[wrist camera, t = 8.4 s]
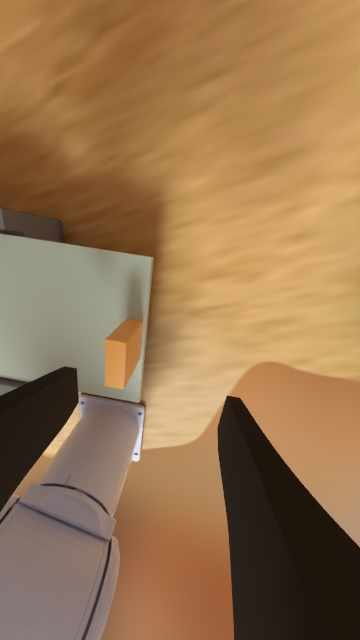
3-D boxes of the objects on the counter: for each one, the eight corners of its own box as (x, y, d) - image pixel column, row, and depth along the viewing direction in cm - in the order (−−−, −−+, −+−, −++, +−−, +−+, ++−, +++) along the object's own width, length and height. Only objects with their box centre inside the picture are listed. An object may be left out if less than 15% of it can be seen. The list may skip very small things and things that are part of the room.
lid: (140, 397, 17) (124, 441, 13) (-40, 364, 18) (-106, 396, 14) (153, 257, 13) (134, 260, 9) (-85, 219, 13) (-199, 207, 10)
